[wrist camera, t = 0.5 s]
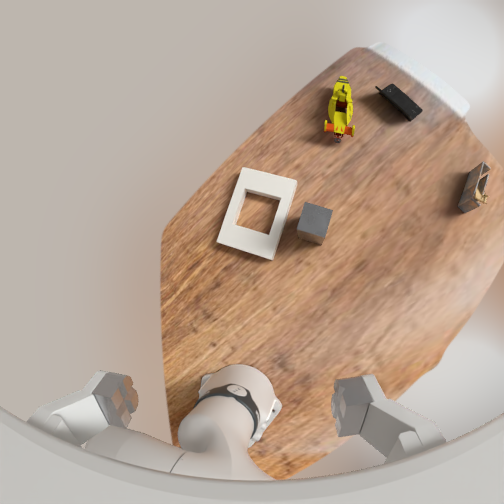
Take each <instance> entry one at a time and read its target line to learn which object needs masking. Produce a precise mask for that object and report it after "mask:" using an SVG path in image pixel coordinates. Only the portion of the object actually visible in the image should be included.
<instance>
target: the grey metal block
mask: <svg viewBox="0 0 504 504" xmlns="http://www.w3.org/2000/svg"><path fill="white" fill-rule="evenodd" d="M332 211H333V210H330V209H327V208H324V207H320V206H317V205H314V204H310V203H307V202H305V204H304V207H303V210H302V214H301V217H300V220H299V223H298V227H297V233H298V238H300V239H303V240H307V241H310V242H313V243H316V244H319V245H322V243H323V241H324V239H325V236H326V232H327V229H328V225H329V222H330V218H331V215H332Z"/></svg>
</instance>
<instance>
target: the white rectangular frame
mask: <svg viewBox="0 0 504 504" xmlns="http://www.w3.org/2000/svg"><path fill="white" fill-rule="evenodd" d="M296 187H297V180H293V179H289V178H285V177H282V176H278V175H274V174H270V173H266V172H262V171H257V170H253V169H249V168H245V167H243V168H242V171H241V173H240V176H239V179H238V182H237V184H236V187H235V190H234V193H233V196H232V198H231V201H230V204H229V207H228V210H227V213H226V216H225V218H224V221H223V224H222V227H221V230H220V233H219V236H218V239H217V242H218V243H220V244H223V245H226V246H230V247H233V248H236V249H239V250H242V251H245V252H248V253H251V254H254V255H257V256H260V257H264V258H267V259H270V260H274V257H275V253H276V250H277V247H278V244H279V241H280V238H281V235H282V232H283V229H284V226H285V222H286V219H287V216H288V213H289V210H290V207H291V203H292V200H293V197H294V194H295V190H296ZM247 192H250V193H254V194H258V195H261V196H265V197H269V198H272V199H276V200H280V203H279V206H278V209H277V212H276V216H275V219H274V222H273V225H272V228H271V231H270V234H269V235H267V234H264V233H261V232H258V231H254V230H251V229H248V228H244V227H241V226H238V225H236V223H237V220H238V217H239V214H240V211H241V208H242V205H243V202H244V200H245V197H246V194H247Z"/></svg>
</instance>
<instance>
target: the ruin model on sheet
mask: <svg viewBox="0 0 504 504" xmlns="http://www.w3.org/2000/svg"><path fill="white" fill-rule="evenodd" d="M490 169H491V168H490V167H489V166H488V165H487V164H486V163H485V162H484V161H483V162H482V163H481V164H479V165H478V166H477V167H475V168H474V169H473V170H471V171H470V172H469V175H468V179H467V182H466V185H465V188H464V190H463V193H462V196H461V199H460V201H459V204H458V208H459V209H461V210H462V211H463V212H464V213H466V212H469V211H471V210H473V209H475V208H477V207H479V206H480V204H479V203H478V202H477V201H480V202H482V203H485V202H486V199H487V197H489V196H487V195H486V194H484V191H485V188H486V184H487V181H488V177H489V174H488V175H486V176H485V177H483V178H482V179H480V176H481V175H483V174H484V173H486V172H487V171H489V170H490ZM485 204H487V203H485Z"/></svg>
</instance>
